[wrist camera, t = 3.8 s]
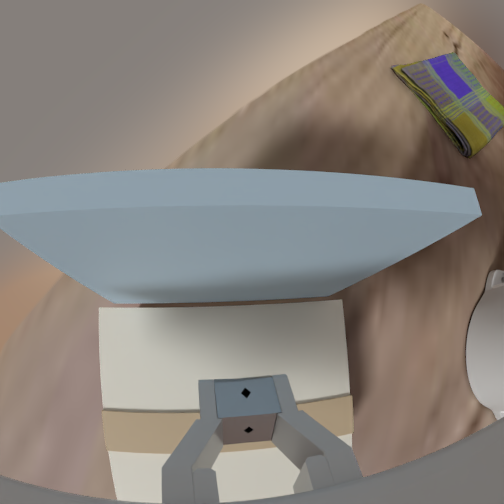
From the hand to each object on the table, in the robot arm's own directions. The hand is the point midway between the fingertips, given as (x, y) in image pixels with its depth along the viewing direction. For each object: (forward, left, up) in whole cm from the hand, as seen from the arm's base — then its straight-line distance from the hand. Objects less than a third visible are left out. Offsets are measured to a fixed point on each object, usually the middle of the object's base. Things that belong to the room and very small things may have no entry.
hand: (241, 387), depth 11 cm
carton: (0, +3, -14) cm, 15 cm away
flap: (0, -4, -6) cm, 7 cm away
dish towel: (-39, -35, -15) cm, 54 cm away
